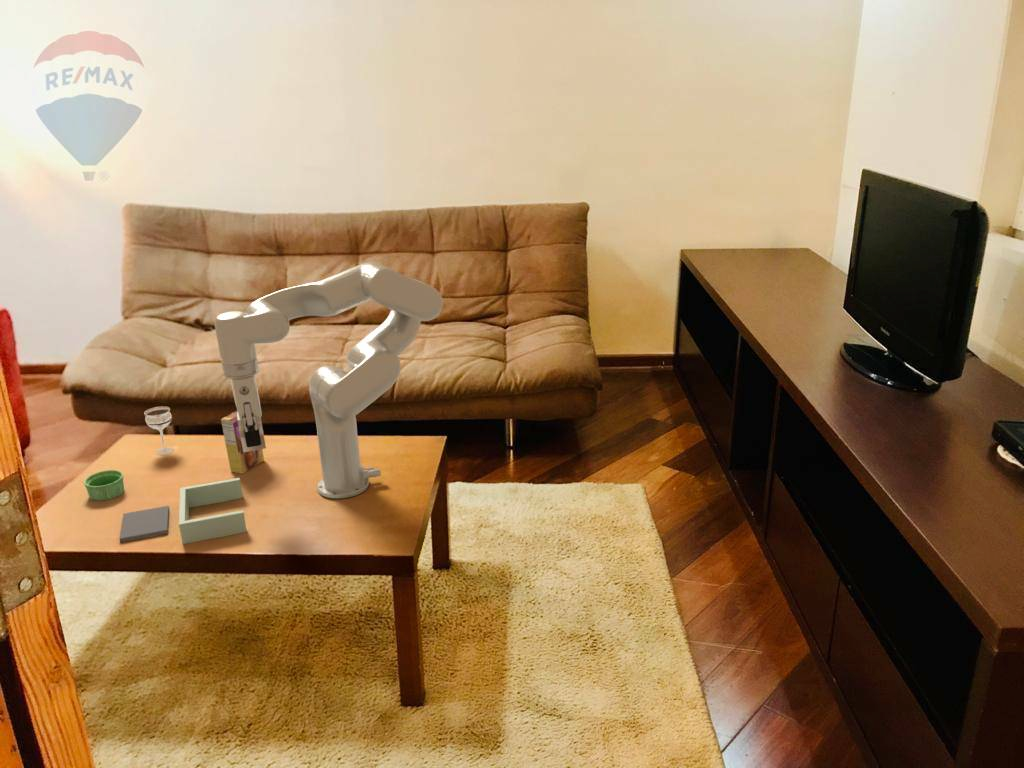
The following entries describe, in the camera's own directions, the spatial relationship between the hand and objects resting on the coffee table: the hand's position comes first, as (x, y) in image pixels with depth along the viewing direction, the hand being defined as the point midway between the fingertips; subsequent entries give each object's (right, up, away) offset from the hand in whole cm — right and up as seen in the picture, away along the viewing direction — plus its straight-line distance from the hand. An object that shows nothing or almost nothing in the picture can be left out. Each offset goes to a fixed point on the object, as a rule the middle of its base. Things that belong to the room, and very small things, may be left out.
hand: (253, 440), depth 195 cm
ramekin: (-42, -15, +17) cm, 47 cm away
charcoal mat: (-25, -20, +1) cm, 32 cm away
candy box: (-10, -9, +29) cm, 32 cm away
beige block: (0, -1, +1) cm, 2 cm away
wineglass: (-37, -6, +39) cm, 54 cm away
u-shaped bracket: (-10, -19, +3) cm, 21 cm away
